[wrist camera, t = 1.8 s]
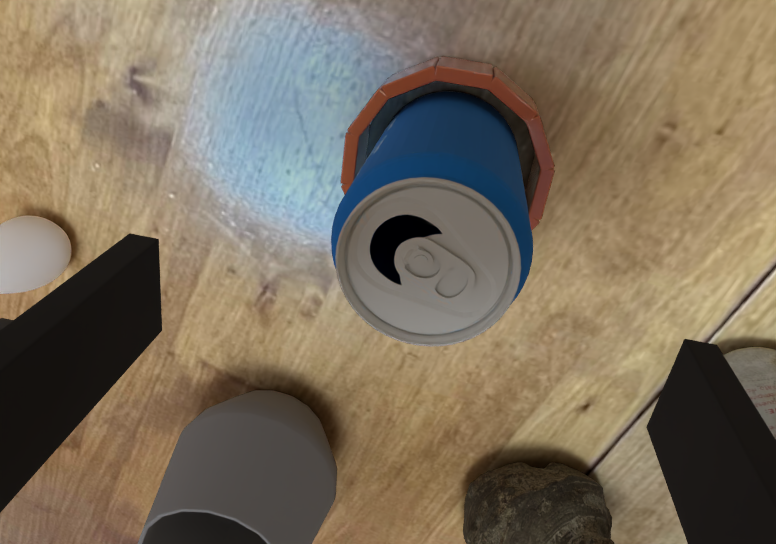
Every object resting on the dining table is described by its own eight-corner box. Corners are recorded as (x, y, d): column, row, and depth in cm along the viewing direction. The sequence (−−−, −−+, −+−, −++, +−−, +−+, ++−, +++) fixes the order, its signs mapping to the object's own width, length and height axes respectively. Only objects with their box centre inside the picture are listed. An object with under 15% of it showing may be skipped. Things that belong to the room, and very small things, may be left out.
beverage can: (432, 58, 27) (397, 118, 17) (546, 142, 28) (583, 249, 18) (356, 172, 30) (284, 285, 19) (462, 245, 31) (449, 391, 20)
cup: (229, 339, 36) (144, 463, 27) (373, 405, 36) (337, 547, 28) (188, 446, 40) (103, 582, 31) (317, 503, 41) (270, 653, 32)
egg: (24, 195, 33) (-55, 234, 29) (88, 227, 34) (21, 272, 29) (13, 249, 35) (-63, 295, 30) (73, 280, 35) (8, 329, 31)
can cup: (436, 13, 26) (431, 19, 24) (587, 146, 28) (598, 165, 25) (319, 168, 30) (303, 187, 28) (458, 277, 32) (455, 305, 29)
